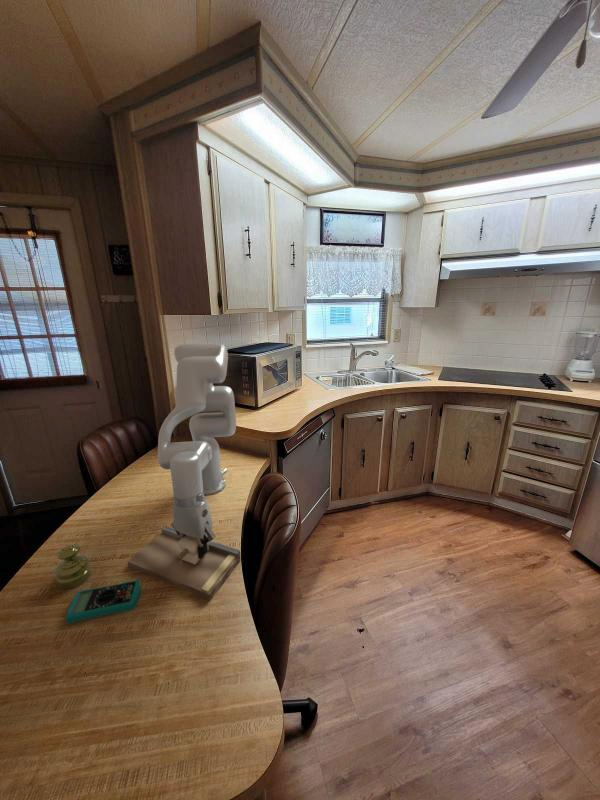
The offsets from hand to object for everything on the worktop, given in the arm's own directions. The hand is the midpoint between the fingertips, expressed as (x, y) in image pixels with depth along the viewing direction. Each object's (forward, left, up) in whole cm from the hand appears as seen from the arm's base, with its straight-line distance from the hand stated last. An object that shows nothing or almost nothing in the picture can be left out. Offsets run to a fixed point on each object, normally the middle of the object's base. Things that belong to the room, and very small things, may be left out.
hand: (195, 551), depth 87 cm
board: (+2, -2, -3) cm, 4 cm away
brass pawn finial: (+17, -26, -4) cm, 31 cm away
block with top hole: (+2, 0, -1) cm, 2 cm away
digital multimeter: (+19, -11, -4) cm, 23 cm away
